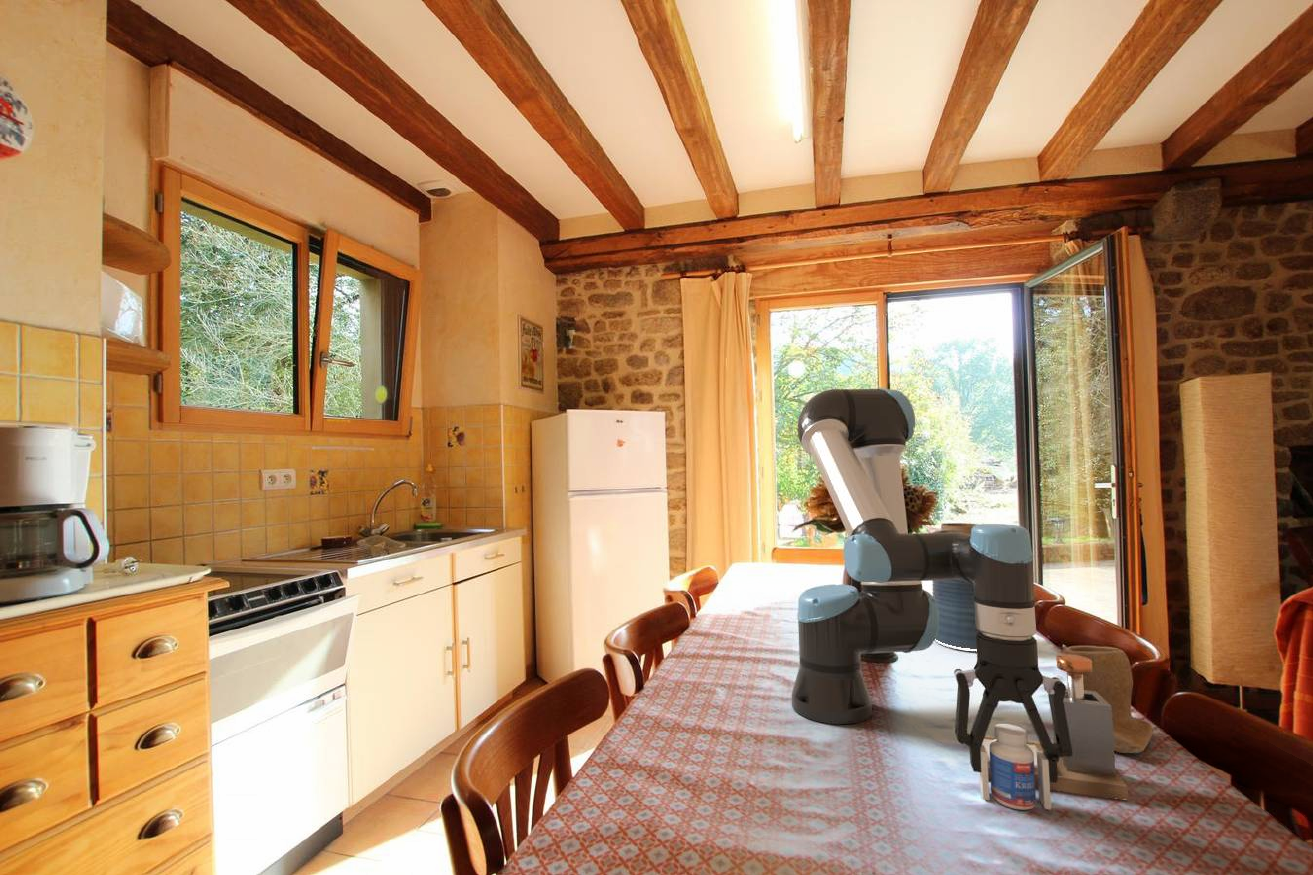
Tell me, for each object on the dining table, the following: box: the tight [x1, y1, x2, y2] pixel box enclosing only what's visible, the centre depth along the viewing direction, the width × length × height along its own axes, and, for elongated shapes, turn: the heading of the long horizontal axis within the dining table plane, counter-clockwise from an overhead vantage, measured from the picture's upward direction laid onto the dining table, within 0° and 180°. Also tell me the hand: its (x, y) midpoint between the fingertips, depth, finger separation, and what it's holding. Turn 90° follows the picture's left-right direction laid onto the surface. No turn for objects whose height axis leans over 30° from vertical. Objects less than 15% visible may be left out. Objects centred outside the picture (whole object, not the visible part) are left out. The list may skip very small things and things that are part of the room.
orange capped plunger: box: [1055, 653, 1092, 700], centre depth 88 cm, size 4×4×12 cm
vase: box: [931, 522, 980, 649], centre depth 155 cm, size 16×16×32 cm
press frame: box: [1052, 688, 1117, 777], centre depth 88 cm, size 6×6×10 cm
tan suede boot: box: [1063, 645, 1154, 754], centre depth 101 cm, size 15×12×15 cm
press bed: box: [982, 734, 1129, 801], centre depth 89 cm, size 18×11×3 cm, turn 70°
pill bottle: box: [990, 723, 1037, 811], centre depth 82 cm, size 6×5×10 cm
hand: (1014, 798), depth 82 cm, fingers open, 7 cm apart
